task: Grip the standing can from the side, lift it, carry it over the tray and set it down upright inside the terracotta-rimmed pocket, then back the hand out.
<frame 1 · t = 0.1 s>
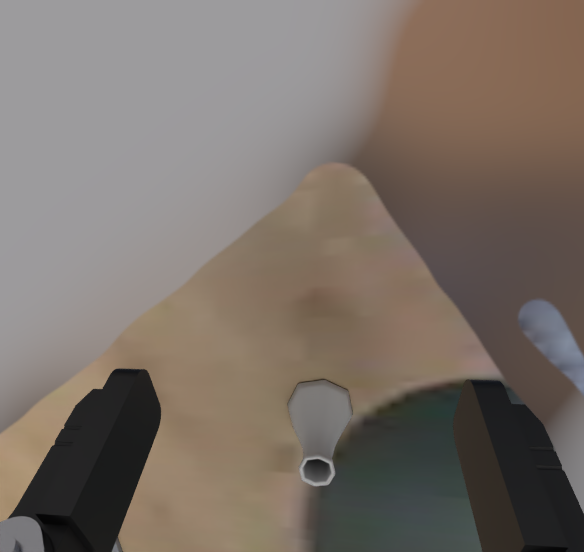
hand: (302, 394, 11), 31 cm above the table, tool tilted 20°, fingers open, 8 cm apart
flask: (320, 406, 47), on the table
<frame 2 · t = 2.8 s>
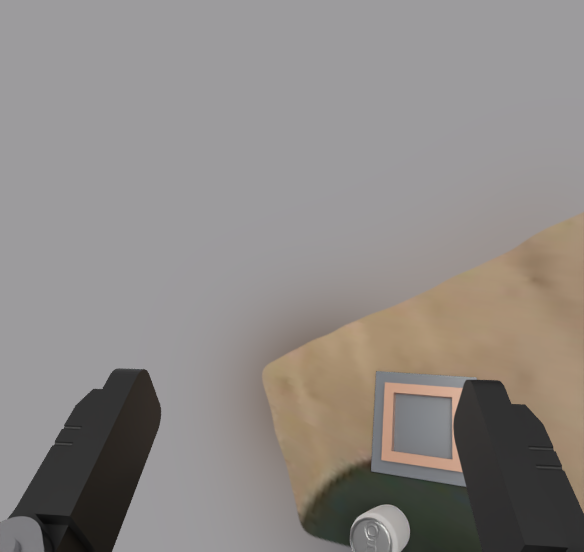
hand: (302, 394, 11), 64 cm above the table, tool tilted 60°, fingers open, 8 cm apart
tray: (423, 425, 68), on the table
can: (389, 527, 65), on the table
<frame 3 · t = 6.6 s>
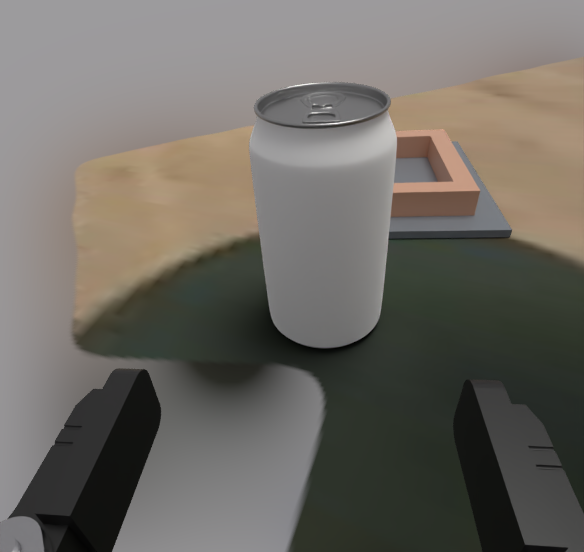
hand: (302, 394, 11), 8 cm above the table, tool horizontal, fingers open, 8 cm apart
tray: (382, 186, 37), on the table
can: (324, 313, 25), on the table
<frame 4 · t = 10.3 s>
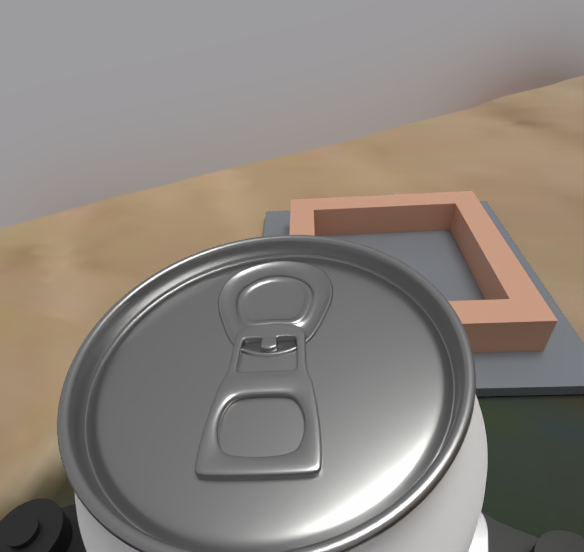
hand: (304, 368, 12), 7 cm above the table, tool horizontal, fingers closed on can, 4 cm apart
tray: (392, 283, 25), on the table
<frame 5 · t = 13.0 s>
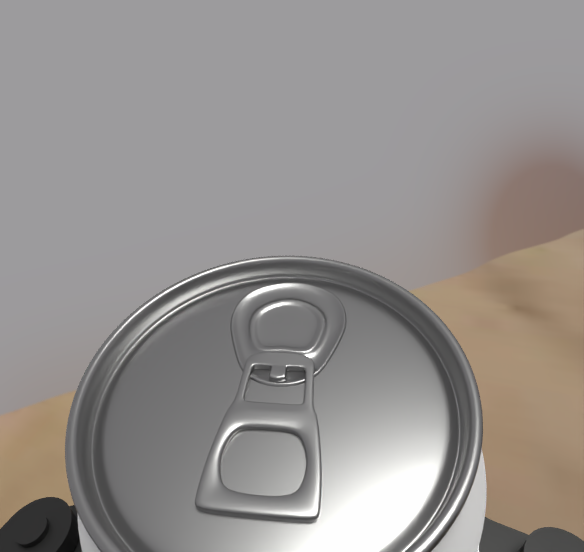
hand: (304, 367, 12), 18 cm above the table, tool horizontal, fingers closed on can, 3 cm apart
when the fingers open (8 cm above the table, at t = 15.8 s): can stays where it is, resting on tray.
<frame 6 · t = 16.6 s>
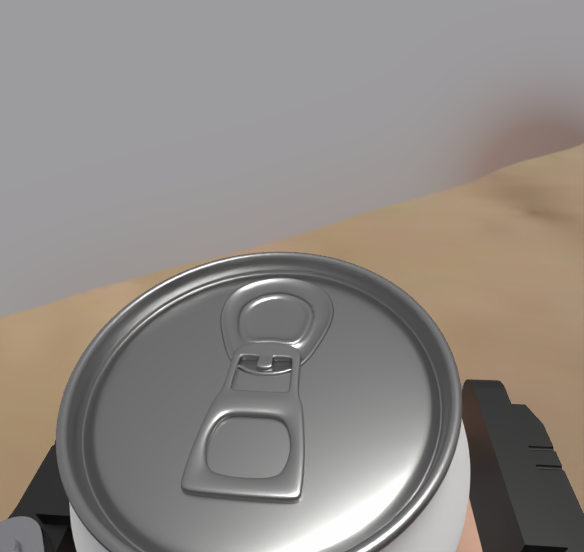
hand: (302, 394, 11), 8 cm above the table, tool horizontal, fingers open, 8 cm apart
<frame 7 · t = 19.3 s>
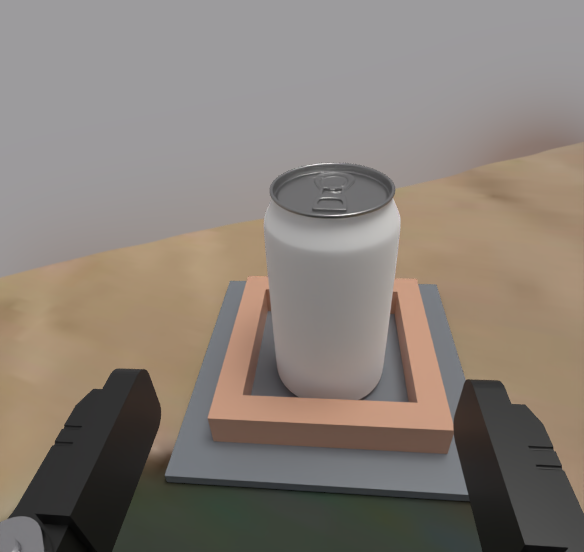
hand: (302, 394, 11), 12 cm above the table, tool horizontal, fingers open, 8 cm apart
tray: (329, 366, 27), on the table
can: (329, 368, 26), resting on tray
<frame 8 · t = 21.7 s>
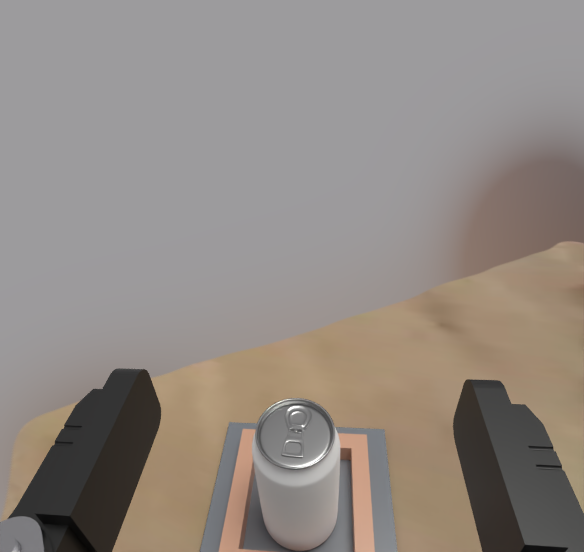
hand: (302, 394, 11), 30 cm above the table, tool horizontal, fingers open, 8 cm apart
tray: (300, 508, 38), on the table
can: (300, 512, 37), resting on tray
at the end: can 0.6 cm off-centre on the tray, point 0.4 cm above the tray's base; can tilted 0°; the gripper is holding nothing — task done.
